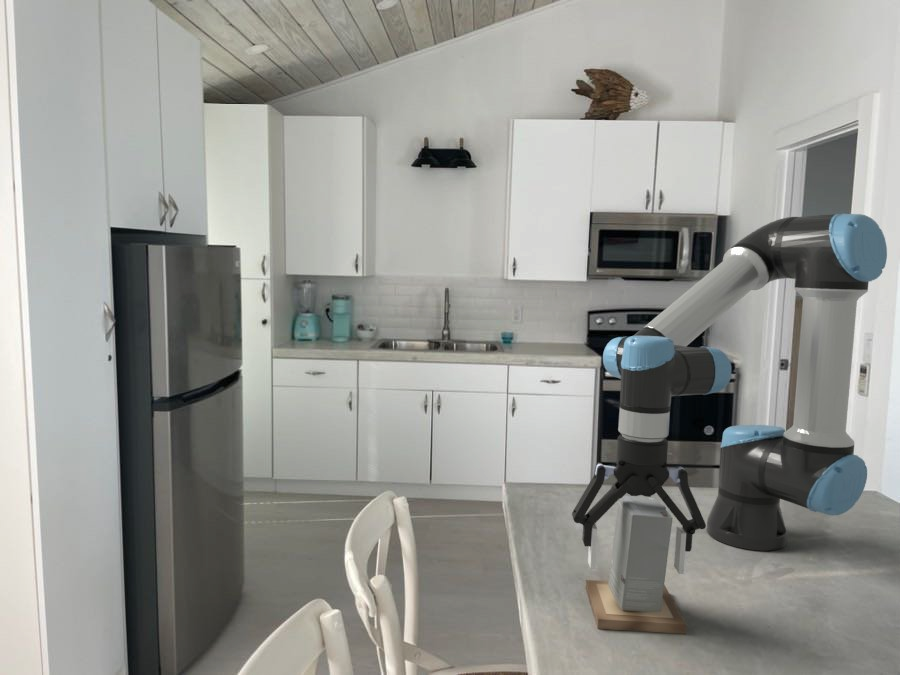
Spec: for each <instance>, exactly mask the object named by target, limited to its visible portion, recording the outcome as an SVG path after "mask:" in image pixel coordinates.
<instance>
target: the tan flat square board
mask: <svg viewBox="0 0 900 675" xmlns="http://www.w3.org/2000/svg"><path fill="white" fill-rule="evenodd" d="M608 582H609V580H593V579H586V580H585V592H586V595H587V598H588V602H589V604H590V608H591V611H592V615H593V618H594V622H595V625H596V627H597V629H599V630H615V631H631V632H632V631H634V632H646V633H647V632H649V633H664V634H665V633H666V634H667V633H668V634H682V635H686V634H687V623H686V621H685V619H684V617H683V616H682V614H681V612H680V610H679V609H678V607H677V604H676V603H675V600H674V599H673V597H672V596H671V594H670V592H669V590H668V588H667V587H666V585H665V584H664V590H663V598H662V606H661V612H649V611H625V610H624V611H623V610H622V609H621V608H620V606H619V605H618V603H617V601H616V600H615V598H614V596H613V594H612V592H611V590H610V588H609V587H608V586H609V585H608Z"/></svg>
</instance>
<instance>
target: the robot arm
mask: <svg viewBox="0 0 900 675" xmlns="http://www.w3.org/2000/svg"><path fill="white" fill-rule="evenodd" d="M886 242H887V241H886V237H885V235H884V232H883V230H882V229H881V228H880V226H879V224H878V223H877V222H876V221H875V220H874V219H873V218H872V217H870V216H868V215H866V214H862V213H861V214H859V213H835V214H825V215H824V214H823V215H822V214H821V215H820V214H819V215H807V216H806V215H805V216H787V217H783V218H779V219H776V220H774V221H770V222H769V223H767V224H764V225H763V226H761V227H759V228H757V229H756V230H754V231H752V232H751V233H749V234H748V235H746V236H744V237H743V238H741V239H740V240H739V241H737V243H735V244H733V245H732V246H731V247H730V248H729V249H727V251H726V252H725V253H724V254H723V258H722V262H720V263H719V264H718V265H716V267H714V268H713V269H712V270H711V271H710V272H709V273H706V275H705V276H703V277H702V278H701V279H700V280H699V281H698V282H696V283H695V284H693V286H691V287H690V288H689V289H688V290H686V291H685V292H684V293H682V295H680V297H678V298H677V299H676V300H674V301H673V303H671V304H670V305H668V306H667V307H666V308H665V309H664V310H663V311H661V312H660V313H659V314H657V316H655V317H654V318H653V319H652V320H651V321H650V322H648V323H647V324H646V325H645V326H644V327H642V328H641V329H639V331H637V332H636V333H635V334H634V335H632V336H618V337H615V338H612V339H611V340H609V342H608V343H607V344H606V346H605V347H604V350H603V354H602V363H603V367H604V369H605V371H607V372H608V374H609V375H610V376H612V377H615V378H618V379H620V391H619V392H620V393H619V395H620V396H619V398H620V399H619V413H618V428H617V430H618V432H619V433H620V434H619V435H618V436H617V445H616V446H617V447H616V460H615V463H614V465H613V466H611V465H605V464H603V462H597V463H595V467H594V471H593V476H592V477H591V480H590V482H588V485H587V486H586V488H585V489H584V491H583V494H582V495H581V497H580V499H579V500H578V502H577V503H576V506H575V507H574V509H573V511H572V512H571V516H572V518H573V519H572V520H573V521H574V523H575V524H579V525H582V538H581V539H582V542H583V545H584V547H588V551H587V552H588V554H587V563H588V565H589V569H590V570H596V563H597V561H596V560H597V543H598V540H597V539H598V527H597V524H596V523H597V522H598V521H599V520H601V518H602V517H603V516H604V515H605V514H606V513H607V512H608V511H609V509H611V508H612V506H614V505H615V504H616V503H618V500H619V499H620V498H622V497H623V496H626V494H627V495H629V496H637V497H639V496H642V497H650V498H652V496H654V495H657V496H658V497H659V498H660V499H661V501H662V502H663V503H664V505H665V507H666V508H668V509H669V511H670V512H671V513H672V514H673V516H674V517H675V519H677V521H678V522H679V524H680V525H681V526H676V532H675V543H674V544H675V547H674V561H673V567H674V568H675V571H676V572H677V574H679V575H685V556H686V552H691V551H692V548H693V535H694V534H695V533H696V531H697V530H705V529H706V533H707V534H708V535H709V536H710V537H711V538H713V539H715V540H716V541H718V542H720V543H723V544H726V545H728V546H732V547H734V548H735V547H736V548H740V549H745V550H751V551H762V552H763V551H776V550H780V549H783V548H784V547H786V545H787V536H788V532H787V531H788V530H787V528H786V524H785V519H784V516H783V513H782V509H781V504H780V503H781V500H783V501H785V502H789V503H791V504H793V505H797V506H800V507H803V508H805V509H808V510H810V512H814V513H817V512H818V513H821V514H824V515H828V516H839V515H842V514H845V513H847V512H848V511H849V510H851V509H852V508H853V507H854V506H855V505H856V503H858V501H859V500H860V498H861V496H862V495H863V492H864V490H865V487H866V484H867V480H868V479H867V478H868V467H867V465H866V461H865V460H864V459H863V458H862V457H860V456H859V455H857V454H854V453H855V452H854V451H855V440H854V439H853V438H852V437H851V436H850V435H849V434H848V433H847V423H848V422H847V421H848V413H849V412H848V409H849V397H850V388H851V387H850V386H851V373H852V364H853V363H852V362H853V351H854V340H855V339H854V338H855V329H856V328H855V327H856V319H857V318H856V317H857V305H858V300H859V299H861V297H863V296H864V295H865V294H866V293H868V292H869V291H868V290H869V282H872V281H875V280H876V279H878V278H879V277H881V275H882V274H883V269H885V267H886V263H887V258H888V248H887V243H886ZM782 279H783V280H784V279H793V280H794V290H795V291H796V292H797V293H798V294H799V295H800V296H801V298H802V309H801V310H802V311H801V319H800V320H801V321H800V335H799V344H798V345H799V346H798V360H797V370H796V372H797V373H796V374H797V375H796V386H795V388H796V389H795V398H794V411H793V423H792V424H793V425H792V426H791V427H790V428H788V429H787V430H786V429H785V428H784V427H782V426H781V427H780V426H778V425H777V426H776V425H769V424H768V425H767V424H763V425H762V424H740V425H733V426H732V425H731V426H729V427H727V428H725V429H724V431H723V432H722V439H721V444H720V446H719V447H720V452H719V453H720V454H719V456H720V457H719V458H720V459H719V469H718V470H719V475H718V490H717V496H716V499H715V500H714V504H713V505H712V508H711V510H710V513H709V515H708V517H707V520H706V522H705V519H704V517H703V514H702V512H701V510H700V508H699V505H698V503H697V501H696V499H695V497H694V495H693V493H692V490H691V488H690V486H689V477H688V474H689V473H688V472H687V470H686V469H685V468H684V467H683V466H681V465H677V466H676V467H675V468H668V465H667V464H668V449H669V448H668V447H669V441H668V440H667V437H669V435H670V434H669V432H670V413H671V404H672V397H681V396H694V395H695V396H696V395H703V396H706V395H709V394H713V393H718V392H721V391H723V390H724V389H725V388H726V387H727V386H728V385H729V383H730V381H731V377H732V364H731V361H730V359H729V357H728V355H727V354H726V353H725V352H724V351H723V350H721V349H720V348H717V347H708V346H699V347H693V346H692V347H691V346H688V345H690V344H691V343H692V342H693V341H694V340H695V339H696V338H698V337H699V336H700V335H701V334H703V332H704V331H706V330H707V329H708V328H709V327H711V326H712V325H713V324H714V323H715V322H716V321H717V320H719V319H720V318H721V317H722V316H723V315H724V314H725V313H727V312H728V311H729V310H730V309H731V308H733V307H734V305H736V304H737V303H738V302H740V300H742V299H743V298H744V297H745V296H747V295H748V293H749V292H750V291H758V290H760V289H762V288H764V287H765V286H766V285H767V284H769V283H770V282H773V281H776V280H782ZM607 372H606V373H607ZM612 475H613V476H614V478H615V479H616V481H615V482H614V483H613V484H612V485H611V487H610V489H609V490H608V491H607V492H606V493H605V494H604V495H603V496H602V497H601V498H600V499H599V500H598V501H597V503H595V504H594V505H593V506H592V508H590V507H591V505H592V503H593V502H594V500H595V498H596V496H597V495H598V494H599V491H600V490H601V489H602V486H603V485H604V482H605V481H607V480H608V479H609V478H610V476H612ZM669 478H671V479H672V481H673V482H674V483H676V485H677V487H678V489H679V492H680V493H681V496H682V498H683V501H684V503H685V506H686V507H687V510H688V511H689V514H690V516H691V519H687V517H686V516H685V514H683V512H682V510H680V508H679V507H678V506H677V504H676V503H675V502H674V500H673V499H672V498H671V497H670V495H669V494H668V493H667V492H666V490H665V489H664V488H663V486H664V485H665V483H666V482H667V480H668V479H669Z"/></svg>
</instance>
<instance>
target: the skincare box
mask: <svg viewBox="0 0 900 675" xmlns="http://www.w3.org/2000/svg"><path fill="white" fill-rule="evenodd" d="M666 508H667V506H666V505H663V504H661V502H660V501H659V500H658V499H657V498H656V497H646V496H630V495H624V496H623V497H622V498H620V499H618V501H617V509H616V519H615V526H614V534H613V542H612V550H611V559H610V566H609V575H608V581H609V582H608V585H609V586H608V587H609V588H610V590H611V592H612V594H613V596H614V598H615V600H616V601H617V603H618V605H619V606H620V608H621V609H622V610H623V611H624V610H625V611H649V612H661V606H662V598H663V590H664V585H665V581H666V580H665V579H666V572H667V565H668V556H669V549H670V543H671V542H670V540H671V533H672V526H673V525H672V524H673V516H672V515H671V514H670V513H669V511H667V509H666Z"/></svg>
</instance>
